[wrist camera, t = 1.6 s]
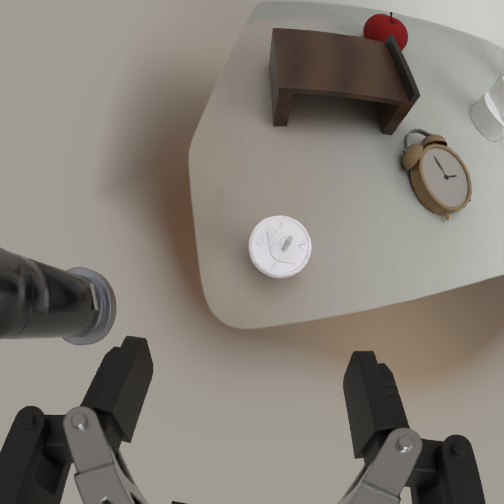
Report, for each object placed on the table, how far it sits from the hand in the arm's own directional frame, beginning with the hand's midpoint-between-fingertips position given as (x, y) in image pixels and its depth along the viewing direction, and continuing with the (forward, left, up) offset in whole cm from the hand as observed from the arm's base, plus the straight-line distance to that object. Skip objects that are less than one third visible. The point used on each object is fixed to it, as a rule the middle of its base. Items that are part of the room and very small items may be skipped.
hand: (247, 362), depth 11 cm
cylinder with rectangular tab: (+52, +38, -28) cm, 70 cm away
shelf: (+15, +37, -28) cm, 48 cm away
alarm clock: (+31, +23, -28) cm, 47 cm away
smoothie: (+4, +9, -28) cm, 30 cm away
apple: (+29, +54, -28) cm, 67 cm away
